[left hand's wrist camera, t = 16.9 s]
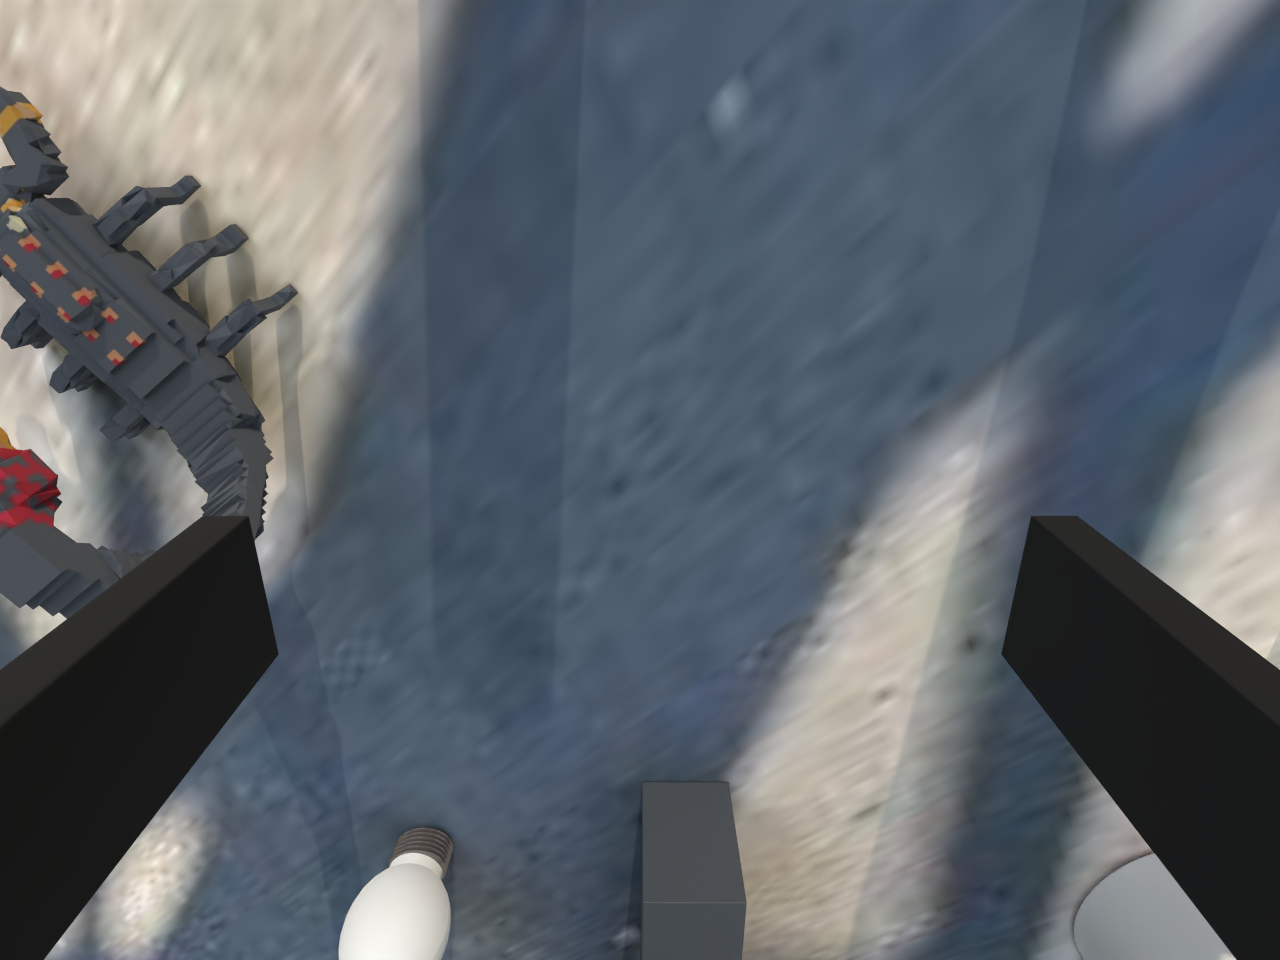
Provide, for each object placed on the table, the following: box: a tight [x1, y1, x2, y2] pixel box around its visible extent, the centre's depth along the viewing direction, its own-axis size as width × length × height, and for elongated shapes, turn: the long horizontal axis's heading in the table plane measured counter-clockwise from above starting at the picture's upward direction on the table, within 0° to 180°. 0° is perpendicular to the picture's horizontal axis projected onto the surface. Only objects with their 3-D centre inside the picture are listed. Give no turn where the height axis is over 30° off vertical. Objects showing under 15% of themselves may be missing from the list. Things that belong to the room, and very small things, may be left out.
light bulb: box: [339, 828, 453, 960], centre depth 49 cm, size 7×7×11 cm
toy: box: [0, 87, 298, 619], centre depth 31 cm, size 13×27×18 cm, turn 37°
